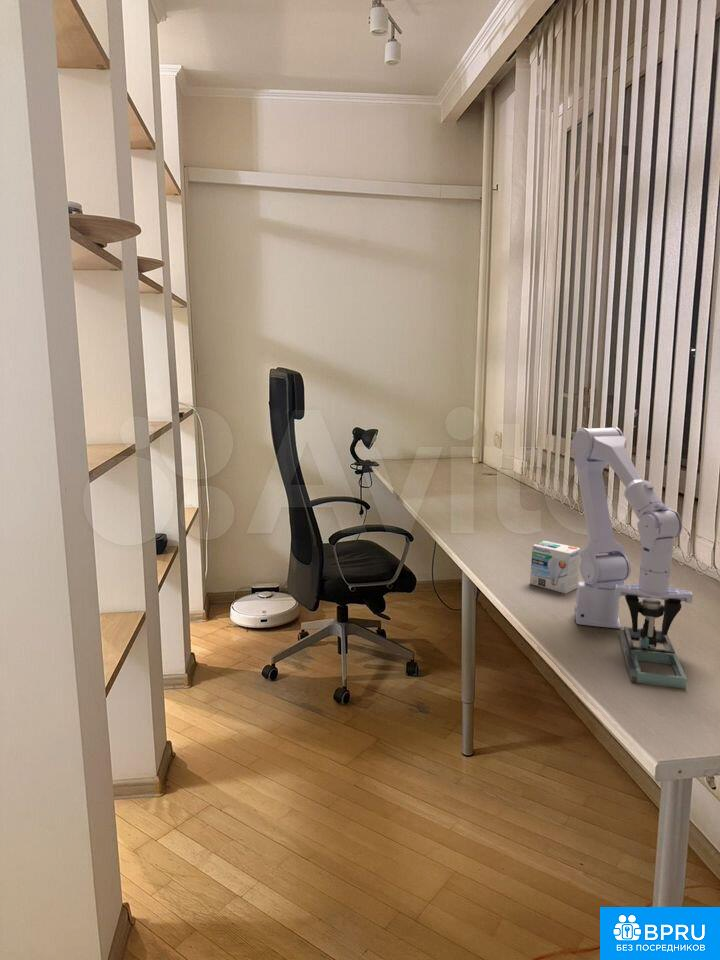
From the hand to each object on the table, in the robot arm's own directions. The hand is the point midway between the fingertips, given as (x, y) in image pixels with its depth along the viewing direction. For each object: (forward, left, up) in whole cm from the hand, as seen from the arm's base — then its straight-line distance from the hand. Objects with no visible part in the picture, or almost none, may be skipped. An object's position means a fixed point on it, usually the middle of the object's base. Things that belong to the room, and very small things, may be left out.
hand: (649, 631), depth 144 cm
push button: (0, 0, -4) cm, 4 cm away
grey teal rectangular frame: (0, -6, -4) cm, 7 cm away
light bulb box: (-18, +35, -4) cm, 39 cm away
